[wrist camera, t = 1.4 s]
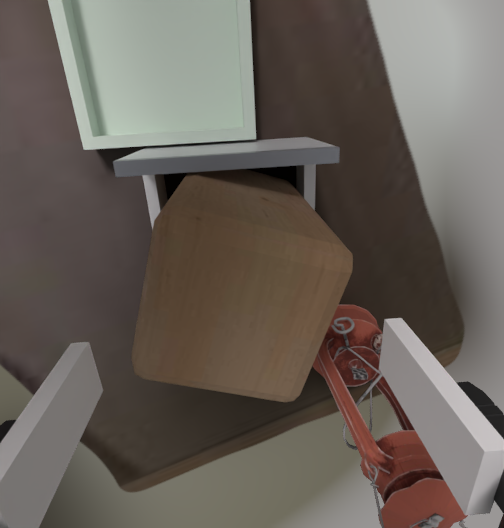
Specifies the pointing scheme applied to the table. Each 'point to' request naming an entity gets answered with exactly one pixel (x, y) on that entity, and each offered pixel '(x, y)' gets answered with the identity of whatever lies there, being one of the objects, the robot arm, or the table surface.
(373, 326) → the lantern
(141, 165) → the dock
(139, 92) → the tray
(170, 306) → the wooden block
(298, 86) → the table surface
